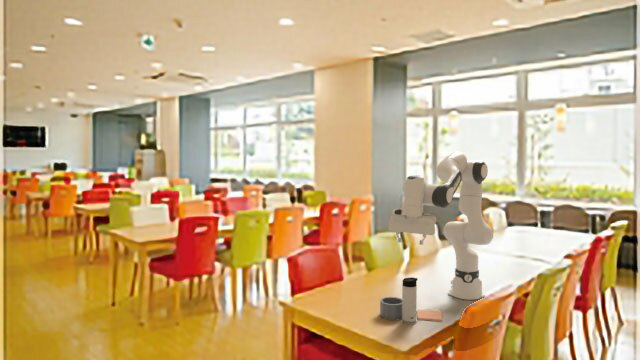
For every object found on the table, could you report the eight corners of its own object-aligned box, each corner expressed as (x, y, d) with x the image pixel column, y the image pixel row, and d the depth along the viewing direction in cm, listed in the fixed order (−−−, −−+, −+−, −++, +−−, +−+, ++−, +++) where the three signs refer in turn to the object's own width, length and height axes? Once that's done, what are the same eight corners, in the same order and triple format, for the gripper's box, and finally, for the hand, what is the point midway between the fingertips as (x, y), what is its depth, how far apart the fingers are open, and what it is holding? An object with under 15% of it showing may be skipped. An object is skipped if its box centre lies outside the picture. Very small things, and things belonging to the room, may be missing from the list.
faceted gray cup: (381, 310, 221) (381, 296, 220) (404, 312, 219) (404, 297, 218) (379, 318, 210) (379, 304, 210) (403, 320, 208) (404, 305, 207)
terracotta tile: (417, 311, 220) (417, 309, 220) (441, 312, 218) (441, 311, 217) (417, 319, 209) (417, 317, 209) (442, 321, 207) (442, 319, 207)
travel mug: (415, 325, 203) (416, 280, 201) (400, 323, 205) (401, 279, 204) (418, 320, 209) (418, 276, 207) (403, 318, 211) (404, 275, 209)
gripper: (437, 213, 202) (434, 245, 202) (390, 209, 208) (388, 240, 208) (436, 214, 196) (434, 246, 196) (388, 210, 202) (386, 241, 202)
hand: (410, 243), depth 202 cm, fingers open, 8 cm apart
